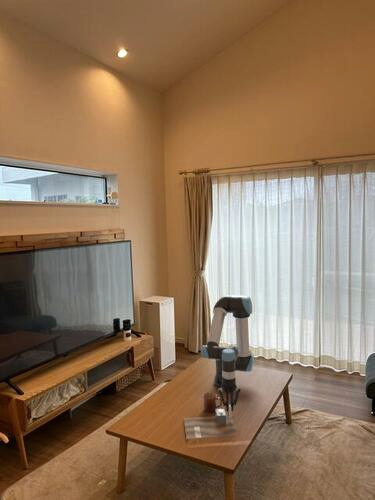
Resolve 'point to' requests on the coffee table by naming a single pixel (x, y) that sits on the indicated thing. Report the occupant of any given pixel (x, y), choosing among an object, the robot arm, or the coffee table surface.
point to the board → (208, 427)
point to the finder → (220, 416)
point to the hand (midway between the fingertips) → (229, 416)
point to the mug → (210, 402)
